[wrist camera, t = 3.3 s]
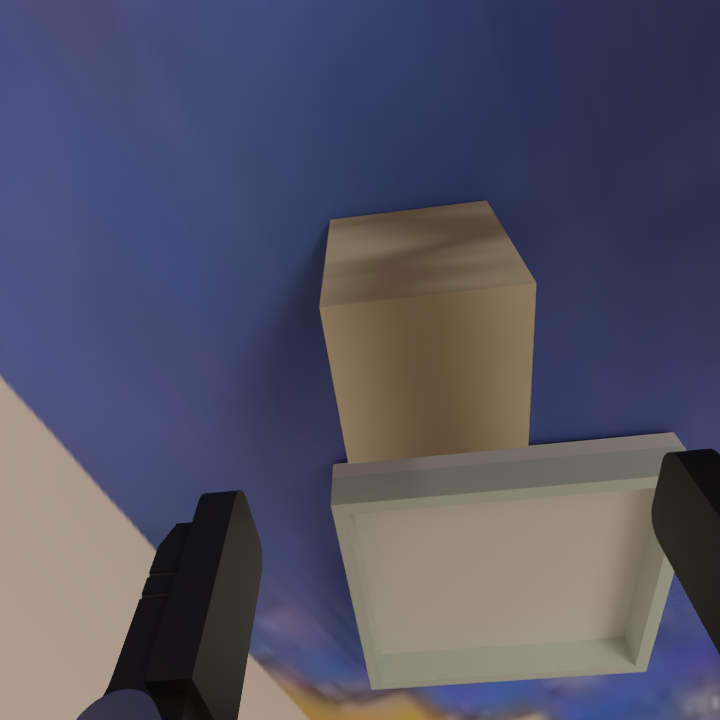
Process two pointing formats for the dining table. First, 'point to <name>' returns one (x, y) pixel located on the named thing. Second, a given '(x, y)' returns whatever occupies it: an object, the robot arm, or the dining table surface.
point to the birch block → (428, 332)
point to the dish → (505, 561)
